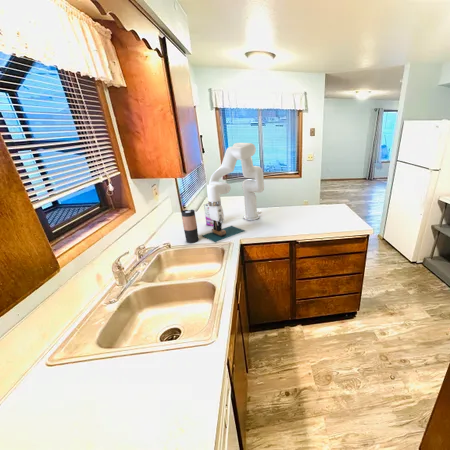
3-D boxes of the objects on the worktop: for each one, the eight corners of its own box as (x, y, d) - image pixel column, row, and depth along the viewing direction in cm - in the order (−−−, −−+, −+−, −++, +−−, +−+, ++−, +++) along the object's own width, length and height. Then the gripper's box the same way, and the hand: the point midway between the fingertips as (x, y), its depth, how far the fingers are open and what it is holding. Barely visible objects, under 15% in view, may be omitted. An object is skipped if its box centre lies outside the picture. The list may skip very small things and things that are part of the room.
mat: (231, 226, 178) (231, 225, 178) (245, 231, 169) (245, 230, 169) (202, 236, 160) (202, 235, 160) (216, 242, 151) (216, 241, 151)
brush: (217, 231, 165) (215, 219, 162) (226, 235, 160) (224, 222, 156) (212, 233, 163) (209, 221, 159) (221, 237, 157) (218, 224, 153)
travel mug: (190, 244, 148) (186, 213, 141) (183, 241, 152) (178, 211, 145) (201, 240, 154) (197, 210, 147) (194, 237, 158) (189, 208, 151)
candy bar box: (222, 225, 179) (219, 204, 174) (217, 227, 175) (214, 206, 169) (211, 223, 184) (208, 202, 178) (206, 225, 180) (203, 204, 174)
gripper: (227, 204, 151) (230, 231, 157) (212, 200, 160) (215, 225, 167) (217, 206, 145) (220, 234, 152) (202, 202, 155) (205, 228, 161)
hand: (217, 229), depth 159 cm, fingers closed on brush, 3 cm apart
